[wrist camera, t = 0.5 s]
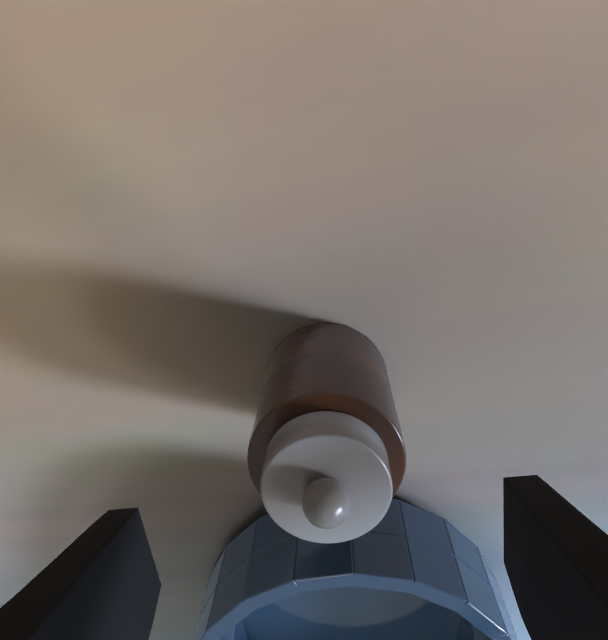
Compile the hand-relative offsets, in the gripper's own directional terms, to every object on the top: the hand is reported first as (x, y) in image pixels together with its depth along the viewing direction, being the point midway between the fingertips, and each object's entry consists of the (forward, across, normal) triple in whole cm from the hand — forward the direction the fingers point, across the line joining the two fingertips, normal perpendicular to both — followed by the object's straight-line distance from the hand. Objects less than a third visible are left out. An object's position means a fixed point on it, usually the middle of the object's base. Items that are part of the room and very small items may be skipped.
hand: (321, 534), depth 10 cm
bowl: (+9, 0, +12) cm, 15 cm away
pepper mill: (+9, 0, +1) cm, 9 cm away
